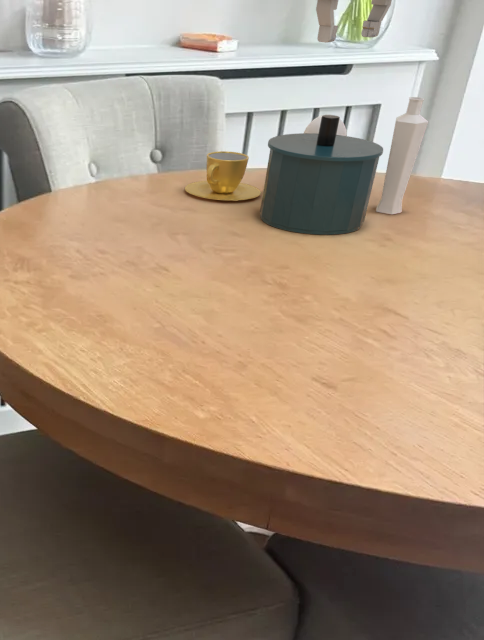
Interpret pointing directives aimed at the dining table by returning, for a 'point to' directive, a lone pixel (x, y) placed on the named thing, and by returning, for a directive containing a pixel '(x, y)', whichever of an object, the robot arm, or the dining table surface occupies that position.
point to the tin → (316, 194)
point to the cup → (224, 178)
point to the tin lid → (325, 144)
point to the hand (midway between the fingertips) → (348, 39)
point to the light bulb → (315, 125)
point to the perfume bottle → (402, 156)
